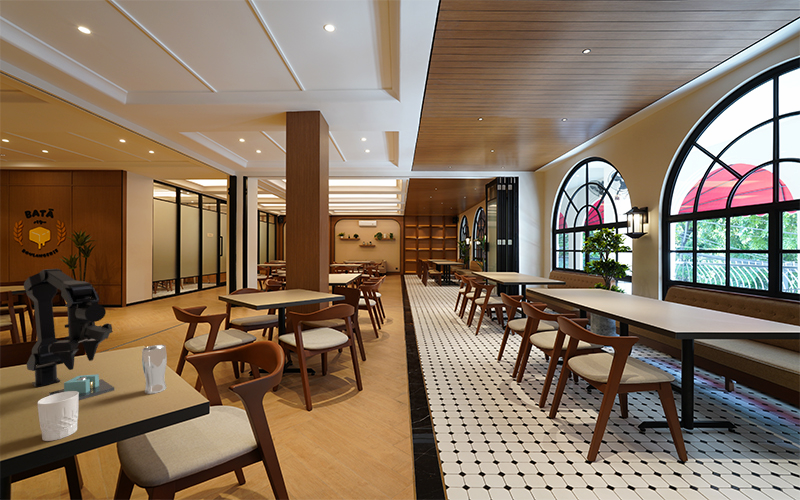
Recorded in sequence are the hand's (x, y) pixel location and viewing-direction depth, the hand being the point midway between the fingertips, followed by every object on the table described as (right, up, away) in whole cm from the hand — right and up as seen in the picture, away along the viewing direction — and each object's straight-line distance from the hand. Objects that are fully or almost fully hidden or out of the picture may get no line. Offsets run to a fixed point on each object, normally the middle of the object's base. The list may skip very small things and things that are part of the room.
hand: (81, 365), depth 120 cm
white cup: (+19, -10, -27) cm, 34 cm away
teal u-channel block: (0, -9, 0) cm, 9 cm away
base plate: (0, -10, 0) cm, 10 cm away
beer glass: (+25, -9, +1) cm, 27 cm away
